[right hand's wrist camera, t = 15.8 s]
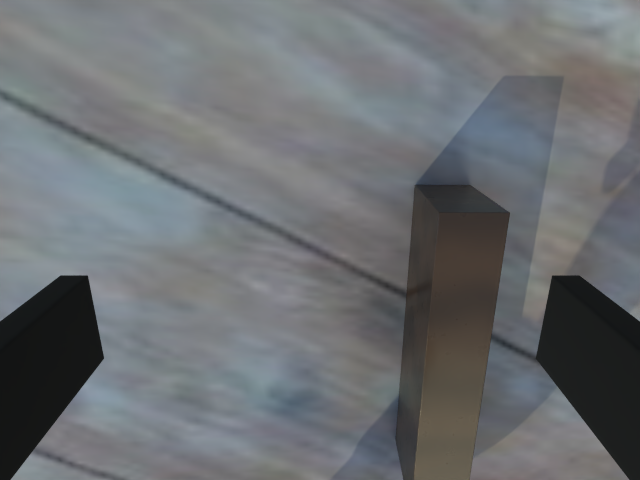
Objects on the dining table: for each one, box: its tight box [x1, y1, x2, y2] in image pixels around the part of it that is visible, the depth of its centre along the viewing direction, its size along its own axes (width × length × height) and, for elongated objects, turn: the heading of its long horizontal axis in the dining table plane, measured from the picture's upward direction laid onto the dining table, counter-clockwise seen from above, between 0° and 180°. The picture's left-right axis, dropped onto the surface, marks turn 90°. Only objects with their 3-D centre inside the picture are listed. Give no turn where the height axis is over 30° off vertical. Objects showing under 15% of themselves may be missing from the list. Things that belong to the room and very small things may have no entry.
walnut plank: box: [396, 185, 510, 480], centre depth 36 cm, size 26×4×8 cm, turn 0°
